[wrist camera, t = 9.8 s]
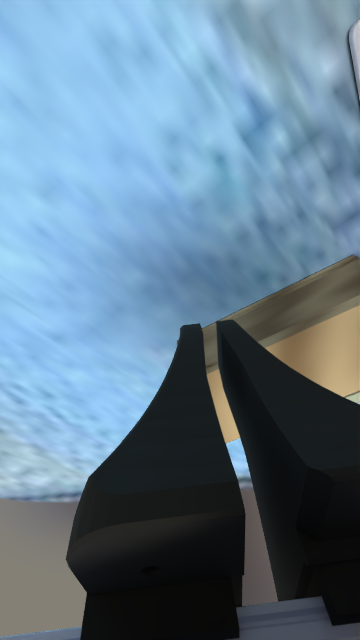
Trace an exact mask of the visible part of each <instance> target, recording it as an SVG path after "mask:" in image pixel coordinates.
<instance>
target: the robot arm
mask: <svg viewBox="0 0 360 640" xmlns="http://www.w3.org/2000/svg"><path fill="white" fill-rule="evenodd" d="M349 42H350V48H351V54H352V59H353V65H354V71H355V76H356V82H357V88H358V93H359V99H360V19H359V20H358V21H357V22H356V23H354V24H353V26H352V28H351V29H350V33H349ZM216 330H217V351H218V366H219V371H220V376H221V381H222V385H223V389H224V392H225V395H226V398H227V401H228V404H229V407H230V410H231V413H232V415H233V418H234V421H235V424H236V427H237V430H238V433H239V435H240V438H241V441H242V445H243V448H244V451H245V455H246V459H247V463H248V467H249V471H250V475H251V479H252V484H253V488H254V492H255V496H256V501H257V505H258V509H259V514H260V518H261V523H262V527H263V532H264V536H265V541H266V545H267V550H268V554H269V559H270V564H271V569H272V573H273V578H274V583H275V588H276V592H277V597H278V602H272V603H264V604H257V605H248V606H242V575H244V554H245V509H244V504H243V500H242V496H241V492H240V488H239V483H238V479H237V477H236V474H235V471H234V468H233V465H232V462H231V459H230V456H229V453H228V449H227V446H226V443H225V440H224V437H223V433H222V430H221V427H220V423H219V420H218V416H217V413H216V409H215V405H214V402H213V398H212V394H211V390H210V386H209V382H208V378H207V373H206V365H205V352H204V339H203V331H202V328H201V325H200V323H199V324H191V325H183V326H182V327H181V328H180V338H179V342H178V346H177V349H176V352H175V355H174V358H173V360H172V363H171V365H170V368H169V370H168V372H167V374H166V377H165V379H164V381H163V383H162V385H161V386H160V388H159V390H158V392H157V394H156V395H155V397H154V399H153V400H152V402H151V403H150V405H149V406H148V408H147V410H146V411H145V413H144V414H143V415H142V417H141V418H140V420H139V421H138V422H137V424H136V425H135V426H134V427H133V429H132V430H131V431H130V432H129V434H128V435H127V436H126V437H125V439H124V440H123V441H122V442H121V444H120V445H119V446H118V447H117V448H116V449H115V450H114V451H113V453H112V454H111V455H110V456H109V457H108V458H107V459H106V460H105V461H104V462H103V463H102V464H101V465H100V466H99V467H98V468H97V469H96V470H95V471H94V472H93V473H92V474H91V475H90V476H89V478H88V480H87V483H86V485H85V488H84V490H83V493H82V496H81V499H80V502H79V505H78V508H77V510H76V514H75V517H74V521H73V527H72V531H71V536H70V541H69V546H68V551H67V556H66V560H67V563H68V566H69V568H70V569H71V571H72V572H73V574H74V575H75V576H76V578H77V579H78V581H79V582H80V583H81V585H82V586H83V588H84V589H85V590H86V592H87V597H86V603H85V610H84V618H83V623H82V627H74V628H67V629H59V630H51V631H43V632H35V633H27V634H19V635H12V636H4V637H0V640H360V404H357V403H355V402H353V401H351V400H349V399H346V398H344V397H342V396H340V395H338V394H336V393H334V392H332V391H330V390H328V389H326V388H324V387H323V386H321V385H319V384H317V383H315V382H313V381H312V380H310V379H308V378H307V377H305V376H303V375H302V374H300V373H299V372H297V371H295V370H294V369H292V368H291V367H289V366H288V365H286V364H285V363H284V362H282V361H281V360H279V359H278V358H277V357H275V356H274V355H273V354H272V353H270V352H269V351H268V350H267V349H265V348H264V347H263V346H262V345H261V344H259V343H258V342H257V341H256V340H255V339H254V338H253V337H251V336H250V335H249V334H248V333H247V332H246V331H245V330H244V329H243V328H242V327H241V326H240V325H239V324H238V323H237V322H235V321H234V320H233V319H231V320H223V321H216Z"/></svg>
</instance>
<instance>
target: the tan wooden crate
mask: <svg viewBox="0 0 360 640" xmlns="http://www.w3.org/2000/svg"><path fill="white" fill-rule="evenodd" d="M231 319H233V320H234V321H235V322H237V323H238V324H239V325H240V326H241V327H242V328H243V329H244V330H245V331H246V332H247V333H248V334H249V335H250V336H251V337H253V338H254V339H255V340H256V341H257V342H258V343H259V344H261V345H262V346H263V347H264V348H265V349H267V350H268V351H269V352H270V353H272V354H273V355H274V356H275V357H277V358H278V359H279V360H281V361H282V362H284V363H285V364H286V365H288V366H289V367H291V368H292V369H294V370H295V371H297V372H299V373H300V374H302V375H303V376H305V377H307V378H308V379H310V380H312V381H313V382H315V383H317V384H319V385H321V386H323V387H324V388H326V389H328V390H330V391H332V392H334V393H336V394H338V395H340V396H342V397H344V396H347V395H349V394H352V393H354V392H357V391H359V390H360V259H359V258H358V257H356V256H354V255H352V256H350V257H348V258H346V259H343V260H341V261H339V262H337V263H335V264H333V265H331V266H329V267H327V268H325V269H323V270H321V271H319V272H317V273H315V274H313V275H311V276H309V277H307V278H305V279H303V280H301V281H299V282H296V283H294V284H292V285H290V286H288V287H286V288H284V289H282V290H280V291H278V292H276V293H274V294H272V295H270V296H268V297H266V298H264V299H262V300H260V301H258V302H256V303H254V304H252V305H250V306H247V307H245V308H243V309H241V310H239V311H237V312H235V313H233V314H231V315H229V316H227V317H225V318H223V319H221V320H219V321H223V320H231ZM202 331H203V339H204V352H205V365H206V373H207V378H208V382H209V386H210V390H211V394H212V398H213V402H214V405H215V409H216V413H217V416H218V420H219V423H220V427H221V430H222V433H223V437H224V440H225V443H228V442H231V441H233V440H236V439H238V438H240V435H239V433H238V430H237V427H236V424H235V421H234V418H233V415H232V413H231V410H230V407H229V404H228V401H227V398H226V395H225V392H224V389H223V385H222V381H221V376H220V371H219V366H218V351H217V330H216V322H215V323H213V324H211V325H209V326H207V327H205V328H203V329H202ZM178 342H179V340H178V341H177V345H178Z"/></svg>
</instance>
